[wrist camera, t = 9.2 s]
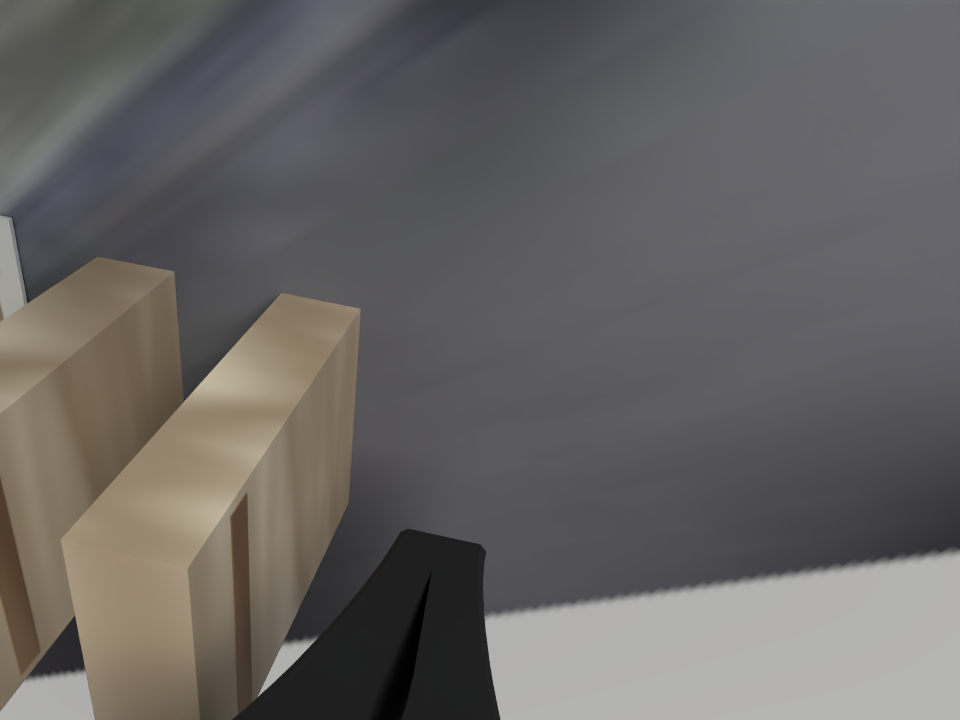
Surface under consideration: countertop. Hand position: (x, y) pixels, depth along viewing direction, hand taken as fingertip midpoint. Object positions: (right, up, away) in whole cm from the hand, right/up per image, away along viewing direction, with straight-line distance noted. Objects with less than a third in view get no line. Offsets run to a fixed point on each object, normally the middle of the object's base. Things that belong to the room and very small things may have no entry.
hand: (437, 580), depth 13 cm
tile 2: (-6, +3, +4) cm, 8 cm away
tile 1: (-3, +3, +4) cm, 5 cm away
